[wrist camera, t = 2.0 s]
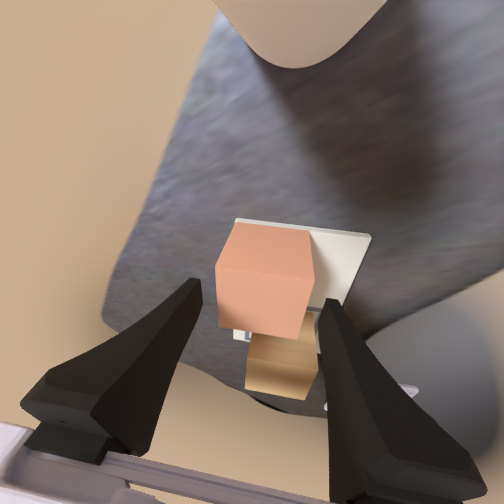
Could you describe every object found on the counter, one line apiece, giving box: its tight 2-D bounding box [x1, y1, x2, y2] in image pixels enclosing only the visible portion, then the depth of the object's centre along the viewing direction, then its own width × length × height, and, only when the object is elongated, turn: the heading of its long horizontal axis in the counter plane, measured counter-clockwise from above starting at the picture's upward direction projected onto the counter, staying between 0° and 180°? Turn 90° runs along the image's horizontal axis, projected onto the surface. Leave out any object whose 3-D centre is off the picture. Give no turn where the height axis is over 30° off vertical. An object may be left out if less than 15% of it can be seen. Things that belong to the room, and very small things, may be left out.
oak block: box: [245, 312, 318, 400], centre depth 19 cm, size 5×5×5 cm
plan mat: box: [234, 218, 372, 354], centre depth 19 cm, size 14×9×1 cm, turn 177°
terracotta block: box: [215, 222, 315, 340], centre depth 14 cm, size 5×5×5 cm
